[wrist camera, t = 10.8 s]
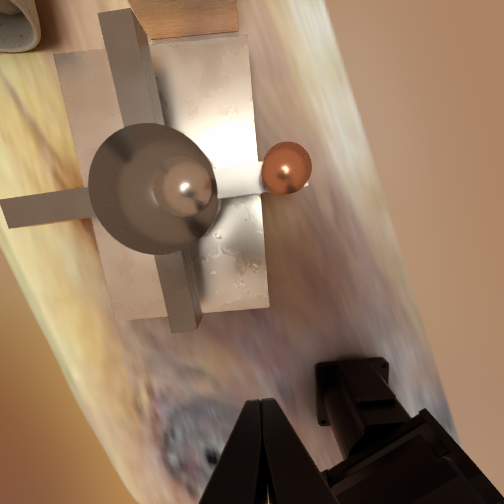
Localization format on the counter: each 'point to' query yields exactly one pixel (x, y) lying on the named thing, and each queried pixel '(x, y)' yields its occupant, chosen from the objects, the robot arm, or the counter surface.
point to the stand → (199, 131)
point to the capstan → (156, 178)
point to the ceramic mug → (18, 25)
